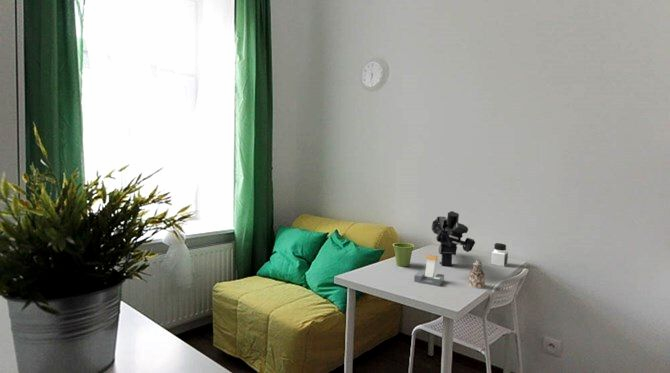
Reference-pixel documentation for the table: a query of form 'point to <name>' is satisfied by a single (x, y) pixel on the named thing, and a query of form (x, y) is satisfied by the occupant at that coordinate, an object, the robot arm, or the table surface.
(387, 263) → the table surface
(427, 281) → the switch housing
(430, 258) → the switch lever
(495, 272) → the table surface
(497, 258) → the medicine bottle
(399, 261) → the plant pot
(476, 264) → the figurine
